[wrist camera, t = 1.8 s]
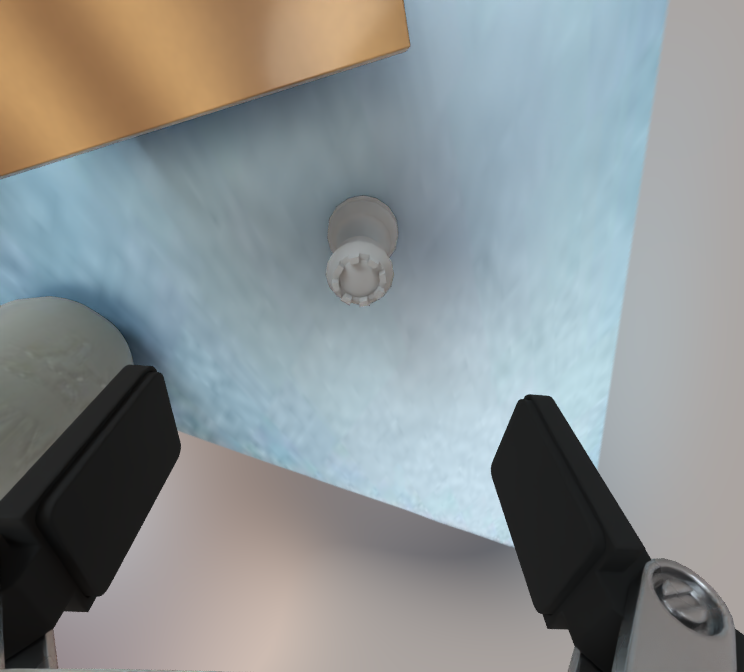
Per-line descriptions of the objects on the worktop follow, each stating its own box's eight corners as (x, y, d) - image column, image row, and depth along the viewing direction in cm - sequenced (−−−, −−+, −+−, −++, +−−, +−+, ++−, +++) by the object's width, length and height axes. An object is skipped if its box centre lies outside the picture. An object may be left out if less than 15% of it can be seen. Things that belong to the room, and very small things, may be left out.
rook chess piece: (363, 275, 25) (360, 340, 19) (313, 230, 24) (290, 282, 17) (412, 230, 24) (427, 283, 17) (362, 177, 22) (357, 212, 15)
